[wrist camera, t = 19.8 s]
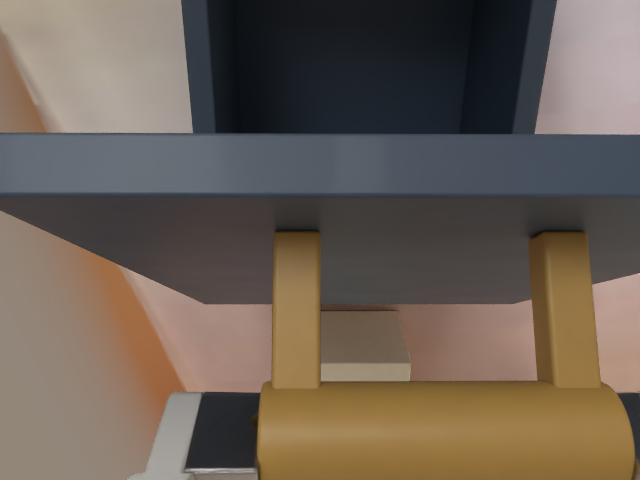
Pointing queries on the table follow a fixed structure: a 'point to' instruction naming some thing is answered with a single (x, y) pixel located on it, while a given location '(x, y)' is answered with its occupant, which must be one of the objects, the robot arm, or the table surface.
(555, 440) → the lid
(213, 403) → the robot arm
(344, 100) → the chest
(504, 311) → the table surface
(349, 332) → the cream box
